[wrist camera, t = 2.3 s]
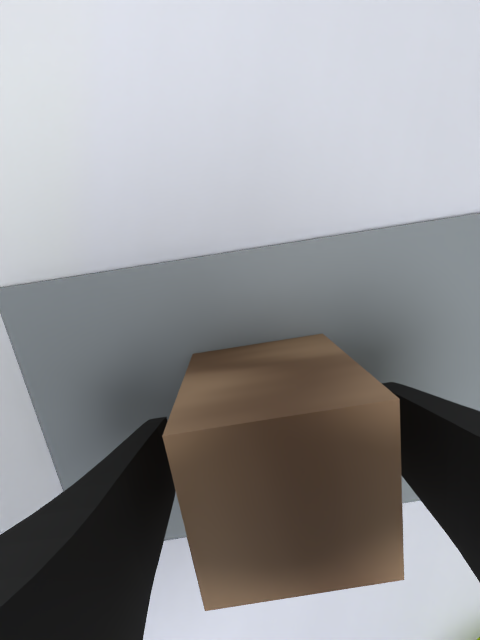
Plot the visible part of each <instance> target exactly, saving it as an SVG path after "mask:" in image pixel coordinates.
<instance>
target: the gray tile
mask: <svg viewBox="0 0 480 640" xmlns="http://www.w3.org/2000/svg"><path fill="white" fill-rule="evenodd" d="M0 313H1V316H2V319H3V322H4V325H5V328H6V330H7V333H8V336H9V339H10V342H11V344H12V347H13V350H14V353H15V356H16V359H17V361H18V364H19V367H20V370H21V373H22V376H23V378H24V381H25V384H26V387H27V390H28V393H29V395H30V398H31V401H32V404H33V407H34V409H35V412H36V415H37V418H38V421H39V424H40V426H41V429H42V432H43V435H44V438H45V441H46V443H47V446H48V449H49V452H50V455H51V458H52V460H53V463H54V466H55V469H56V472H57V475H58V477H59V480H60V483H61V486H62V489H63V491H65V490H66V489H68V488H69V487H70V486H72V485H73V484H74V483H75V482H77V481H78V480H79V479H80V478H81V477H83V476H84V475H85V474H86V473H87V472H89V471H90V470H91V469H92V468H93V467H95V466H96V465H97V464H98V463H99V462H101V461H102V460H103V459H104V458H105V457H107V456H108V455H109V454H110V453H111V452H112V451H113V450H114V449H115V448H117V447H118V446H119V445H120V444H121V443H122V442H123V441H124V440H126V439H127V438H128V437H129V436H130V435H131V434H132V433H133V432H134V431H136V430H137V429H138V428H139V427H140V426H141V425H142V424H144V423H145V422H146V421H148V420H149V419H154V418H161V417H167V421H168V419H169V416H170V414H171V411H172V408H173V406H174V403H175V400H176V398H177V395H178V392H179V389H180V387H181V384H182V381H183V379H184V376H185V373H186V370H187V368H188V365H189V362H190V360H191V357H192V354H195V353H202V352H208V351H214V350H221V349H227V348H234V347H240V346H246V345H253V344H259V343H266V342H272V341H279V340H285V339H291V338H298V337H304V336H311V335H317V334H324V335H325V336H326V337H327V338H329V339H330V340H331V341H332V342H333V343H334V344H336V345H337V346H338V347H339V348H340V349H342V350H343V351H344V352H345V353H346V354H347V355H349V356H350V357H351V358H352V359H353V360H354V361H356V362H357V363H358V364H359V365H360V366H362V367H363V368H364V369H365V370H366V371H367V372H369V373H370V374H371V375H372V376H373V377H374V378H376V379H377V380H378V381H379V382H380V383H388V382H395V383H399V384H402V385H406V386H409V387H412V388H415V389H417V390H420V391H423V392H426V393H429V394H432V395H434V396H437V397H440V398H443V399H446V400H449V401H451V402H454V403H457V404H460V405H463V406H466V407H469V408H472V409H475V410H478V411H480V213H477V214H471V215H465V216H458V217H452V218H445V219H439V220H432V221H426V222H420V223H413V224H407V225H400V226H394V227H388V228H381V229H375V230H368V231H362V232H355V233H349V234H343V235H336V236H330V237H323V238H317V239H311V240H304V241H298V242H291V243H285V244H278V245H272V246H266V247H259V248H253V249H246V250H240V251H234V252H227V253H221V254H214V255H208V256H202V257H195V258H189V259H182V260H176V261H169V262H163V263H157V264H150V265H144V266H137V267H131V268H125V269H118V270H112V271H105V272H99V273H92V274H86V275H80V276H73V277H67V278H60V279H54V280H48V281H41V282H35V283H28V284H22V285H15V286H9V287H3V288H0ZM401 477H402V475H401ZM414 501H420V499H419V497H418V496H417V495H416V494H415V492H414V491H413V490H412V488H411V487H410V486H409V485H408V483H407V482H406V481H405V479H404V478H403V477H402V503H407V502H414ZM184 537H187V535H186V531H185V527H184V523H183V519H182V515H181V511H180V506H179V502H178V498H177V494H176V491H175V498H174V502H173V506H172V510H171V514H170V518H169V522H168V526H167V530H166V534H165V538H164V541H165V540H171V539H178V538H184Z"/></svg>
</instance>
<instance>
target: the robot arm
mask: <svg viewBox="0 0 480 640" xmlns="http://www.w3.org/2000/svg"><path fill="white" fill-rule="evenodd" d="M382 384H383V385H384V386H385V387H386V388H387V389H389V390H390V391H391V392H392V393H393V394H394V395H396V396H397V397H398V398H399V399H400V436H401V475H402V477H403V478H404V479H405V481H406V482H407V483H408V485H409V486H410V487H411V488H412V490H413V491H414V492H415V494H416V495H417V496H418V497H419V499H420V500H421V501H422V502H423V504H424V505H425V506H426V508H427V509H428V510H429V511H430V513H431V514H432V515H433V517H434V518H435V519H436V520H437V522H438V523H439V524H440V526H441V527H442V528H443V529H444V531H445V532H446V533H447V535H448V536H449V537H450V539H451V540H452V542H453V543H454V544H455V546H456V547H457V548H458V550H459V551H460V553H461V554H462V556H463V557H464V559H465V560H466V562H467V563H468V565H469V567H470V568H471V570H472V571H473V573H474V574H475V576H476V577H477V579H478V580H479V582H480V411H478V410H475V409H472V408H469V407H466V406H463V405H460V404H457V403H454V402H451V401H449V400H446V399H443V398H440V397H437V396H434V395H432V394H429V393H426V392H423V391H420V390H417V389H415V388H412V387H409V386H406V385H402V384H399V383H395V382H388V383H382ZM167 422H168V421H167V417H161V418H154V419H149V420H148V421H146V422H145V423H144V424H142V425H141V426H140V427H139V428H138V429H137V430H136V431H134V432H133V433H132V434H131V435H130V436H129V437H128V438H127V439H126V440H124V441H123V442H122V443H121V444H120V445H119V446H118V447H117V448H115V449H114V450H113V451H112V452H111V453H110V454H109V455H108V456H107V457H105V458H104V459H103V460H102V461H101V462H99V463H98V464H97V465H96V466H95V467H93V468H92V469H91V470H90V471H89V472H87V473H86V474H85V475H84V476H83V477H81V478H80V479H79V480H78V481H77V482H75V483H74V484H73V485H72V486H70V487H69V488H68V489H66V490H65V491H64V492H62V493H61V494H60V495H58V496H57V497H56V498H54V499H53V500H52V501H50V502H49V503H47V504H46V505H45V506H43V507H42V508H40V509H39V510H38V511H36V512H35V513H33V514H32V515H30V516H29V517H27V518H26V519H24V520H23V521H21V522H20V523H18V524H17V525H15V526H13V527H12V528H10V529H9V530H7V531H6V532H4V533H3V534H1V535H0V640H143V635H144V629H145V623H146V617H147V611H148V606H149V600H150V595H151V590H152V586H153V581H154V577H155V573H156V569H157V565H158V561H159V557H160V553H161V549H162V545H163V542H164V538H165V534H166V530H167V526H168V522H169V518H170V514H171V510H172V506H173V502H174V498H175V491H176V490H175V486H174V482H173V478H172V474H171V470H170V466H169V461H168V457H167V453H166V449H165V445H164V441H163V437H162V435H163V433H164V430H165V427H166V425H167Z"/></svg>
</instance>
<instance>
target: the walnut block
mask: <svg viewBox="0 0 480 640" xmlns="http://www.w3.org/2000/svg"><path fill="white" fill-rule="evenodd" d="M162 437H163V441H164V445H165V449H166V453H167V457H168V461H169V466H170V470H171V474H172V478H173V482H174V486H175V490H176V494H177V498H178V502H179V506H180V511H181V515H182V519H183V523H184V527H185V531H186V535H187V539H188V543H189V547H190V551H191V556H192V560H193V564H194V568H195V572H196V576H197V580H198V584H199V588H200V592H201V596H202V601H203V605H204V609H205V611H208V610H215V609H221V608H227V607H234V606H240V605H246V604H253V603H259V602H266V601H272V600H278V599H285V598H291V597H297V596H304V595H310V594H317V593H323V592H329V591H336V590H342V589H348V588H355V587H361V586H368V585H374V584H380V583H387V582H393V581H399V580H404V559H403V518H402V477H401V436H400V399H399V398H398V397H397V396H396V395H394V394H393V393H392V392H391V391H390V390H389V389H387V388H386V387H385V386H384V385H383V384H382V383H380V382H379V381H378V380H377V379H376V378H374V377H373V376H372V375H371V374H370V373H369V372H367V371H366V370H365V369H364V368H363V367H362V366H360V365H359V364H358V363H357V362H356V361H354V360H353V359H352V358H351V357H350V356H349V355H347V354H346V353H345V352H344V351H343V350H342V349H340V348H339V347H338V346H337V345H336V344H334V343H333V342H332V341H331V340H330V339H329V338H327V337H326V336H325V335H324V334H317V335H311V336H304V337H298V338H291V339H285V340H279V341H272V342H266V343H259V344H253V345H246V346H240V347H234V348H227V349H221V350H214V351H208V352H202V353H195V354H192V357H191V360H190V362H189V365H188V368H187V370H186V373H185V376H184V379H183V381H182V384H181V387H180V389H179V392H178V395H177V398H176V400H175V403H174V406H173V408H172V411H171V414H170V416H169V419H168V422H167V425H166V427H165V430H164V433H163V435H162Z"/></svg>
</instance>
